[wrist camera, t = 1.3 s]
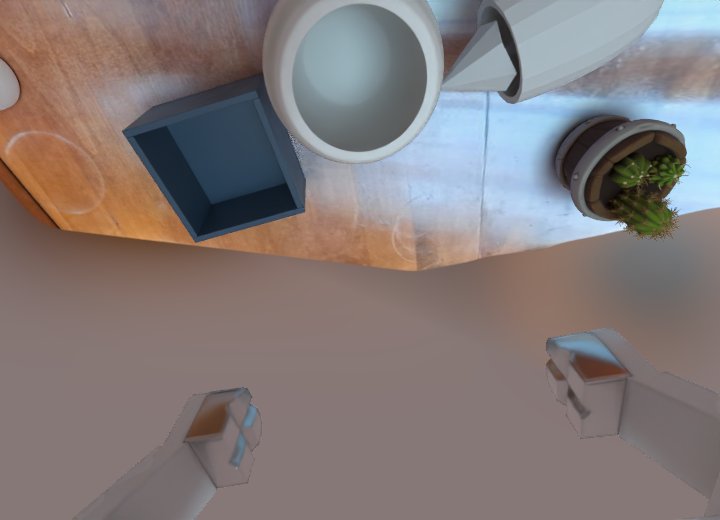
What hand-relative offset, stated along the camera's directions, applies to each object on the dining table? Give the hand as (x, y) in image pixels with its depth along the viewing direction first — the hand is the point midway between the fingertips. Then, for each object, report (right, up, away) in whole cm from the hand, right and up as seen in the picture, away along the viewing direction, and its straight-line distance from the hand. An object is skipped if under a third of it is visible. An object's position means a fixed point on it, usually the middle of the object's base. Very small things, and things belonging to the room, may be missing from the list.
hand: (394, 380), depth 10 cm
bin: (-19, +20, +42) cm, 50 cm away
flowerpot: (+35, +21, +49) cm, 64 cm away
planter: (-3, +30, +36) cm, 47 cm away
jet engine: (+16, +34, +36) cm, 52 cm away
